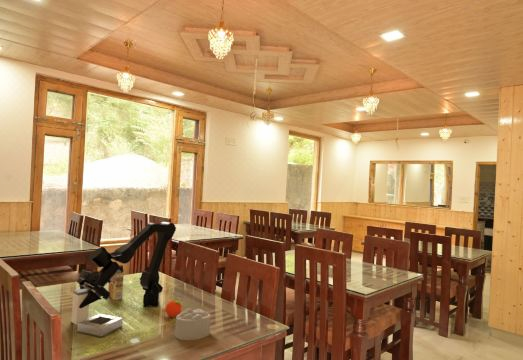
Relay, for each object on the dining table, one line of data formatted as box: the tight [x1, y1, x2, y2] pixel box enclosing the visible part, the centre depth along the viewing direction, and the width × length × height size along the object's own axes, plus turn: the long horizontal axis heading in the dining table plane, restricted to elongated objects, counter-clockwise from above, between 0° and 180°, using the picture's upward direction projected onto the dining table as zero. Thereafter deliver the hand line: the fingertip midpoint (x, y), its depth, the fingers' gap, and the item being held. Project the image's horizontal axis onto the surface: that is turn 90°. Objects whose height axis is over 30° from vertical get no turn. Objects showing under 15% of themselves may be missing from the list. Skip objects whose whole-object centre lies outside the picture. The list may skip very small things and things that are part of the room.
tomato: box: [165, 299, 184, 318], centre depth 153 cm, size 8×7×7 cm
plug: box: [70, 288, 90, 326], centre depth 142 cm, size 4×4×12 cm
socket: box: [77, 313, 123, 338], centre depth 136 cm, size 11×11×4 cm
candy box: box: [107, 266, 125, 301], centre depth 174 cm, size 9×4×15 cm, turn 44°
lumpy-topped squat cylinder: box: [174, 307, 212, 341], centre depth 136 cm, size 10×13×9 cm
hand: (77, 306), depth 141 cm, fingers closed on plug, 4 cm apart
